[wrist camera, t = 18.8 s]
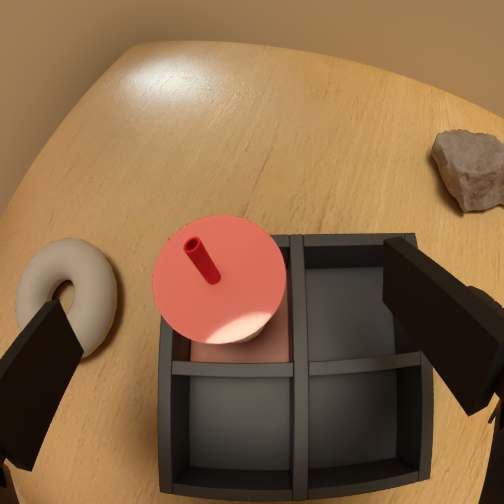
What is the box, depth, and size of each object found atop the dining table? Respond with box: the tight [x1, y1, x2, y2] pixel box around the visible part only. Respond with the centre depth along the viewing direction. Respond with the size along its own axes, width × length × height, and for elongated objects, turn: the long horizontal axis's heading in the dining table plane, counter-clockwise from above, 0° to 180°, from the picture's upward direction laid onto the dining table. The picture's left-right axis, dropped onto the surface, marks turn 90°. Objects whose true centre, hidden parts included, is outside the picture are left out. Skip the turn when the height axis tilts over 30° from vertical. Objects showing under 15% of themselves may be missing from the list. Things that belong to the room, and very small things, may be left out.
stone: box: [431, 129, 504, 212], centre depth 22 cm, size 10×8×6 cm
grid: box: [158, 233, 434, 502], centre depth 18 cm, size 15×15×5 cm
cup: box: [152, 215, 286, 344], centre depth 15 cm, size 5×5×12 cm
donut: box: [15, 238, 117, 359], centre depth 21 cm, size 10×4×10 cm
